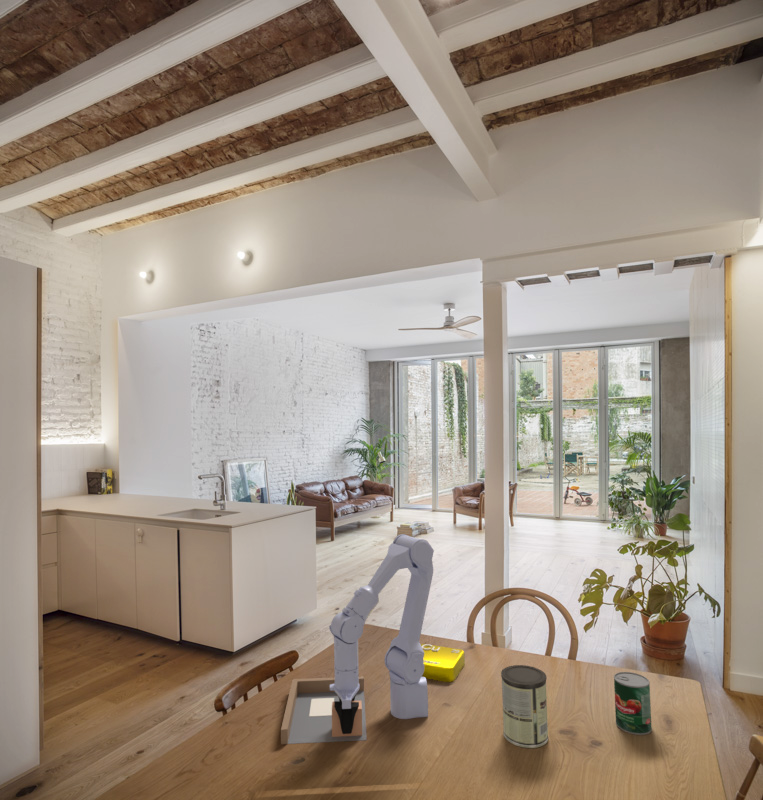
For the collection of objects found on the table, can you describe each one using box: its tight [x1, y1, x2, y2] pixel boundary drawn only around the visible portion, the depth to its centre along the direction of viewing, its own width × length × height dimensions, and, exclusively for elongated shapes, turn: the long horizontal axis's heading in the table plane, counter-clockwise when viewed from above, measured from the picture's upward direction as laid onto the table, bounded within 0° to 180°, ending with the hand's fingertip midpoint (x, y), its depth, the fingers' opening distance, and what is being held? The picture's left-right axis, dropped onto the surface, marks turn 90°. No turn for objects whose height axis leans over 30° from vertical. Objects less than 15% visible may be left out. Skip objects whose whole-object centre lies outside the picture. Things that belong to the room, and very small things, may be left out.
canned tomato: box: [613, 671, 653, 736], centre depth 132 cm, size 8×8×11 cm
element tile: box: [420, 643, 466, 683], centre depth 165 cm, size 15×15×5 cm
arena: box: [280, 675, 368, 745], centre depth 138 cm, size 20×26×4 cm
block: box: [332, 701, 362, 737], centre depth 130 cm, size 7×4×6 cm, turn 93°
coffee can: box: [500, 664, 549, 749], centre depth 128 cm, size 10×10×14 cm
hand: (347, 725), depth 130 cm, fingers open, 6 cm apart
